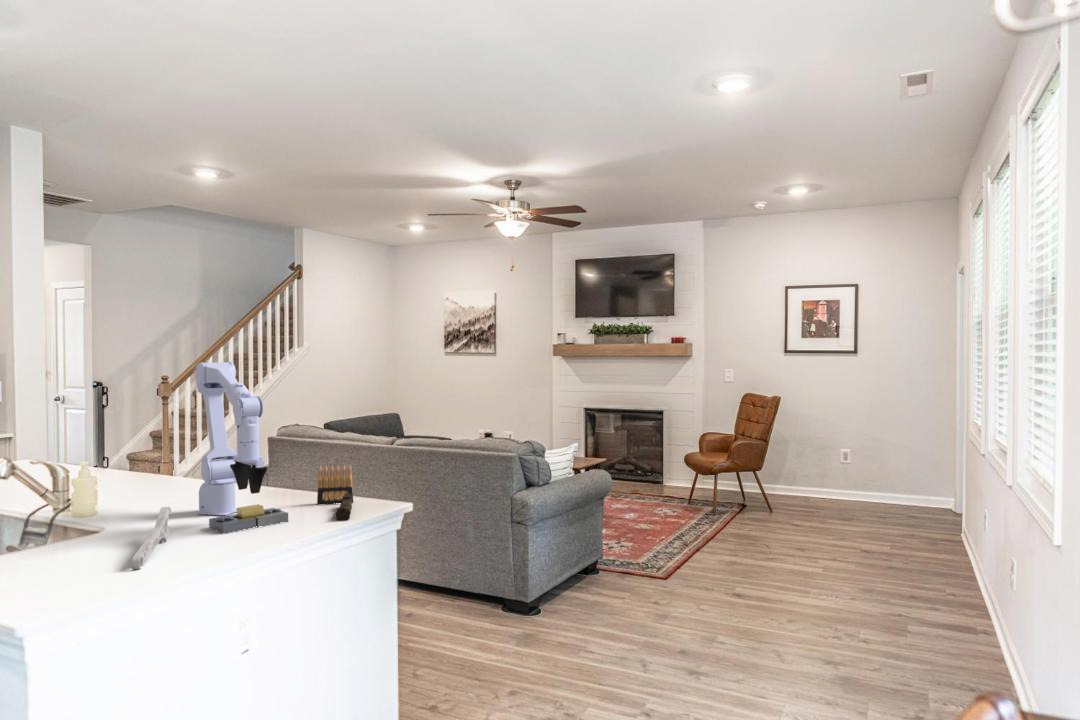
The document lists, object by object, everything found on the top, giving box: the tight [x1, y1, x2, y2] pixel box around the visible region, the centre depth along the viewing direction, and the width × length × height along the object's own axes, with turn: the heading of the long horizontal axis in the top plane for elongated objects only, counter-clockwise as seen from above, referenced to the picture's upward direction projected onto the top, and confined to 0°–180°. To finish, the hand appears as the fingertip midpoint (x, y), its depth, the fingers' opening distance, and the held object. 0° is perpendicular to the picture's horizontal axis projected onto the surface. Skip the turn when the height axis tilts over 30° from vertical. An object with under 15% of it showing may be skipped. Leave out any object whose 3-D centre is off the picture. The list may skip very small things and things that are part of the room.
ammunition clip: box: [316, 463, 354, 505], centre depth 232 cm, size 11×2×12 cm, turn 102°
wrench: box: [131, 506, 172, 570], centre depth 179 cm, size 8×2×30 cm
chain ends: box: [208, 507, 289, 534], centre depth 205 cm, size 18×9×3 cm, turn 136°
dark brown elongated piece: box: [335, 493, 353, 522], centre depth 219 cm, size 19×4×5 cm, turn 7°
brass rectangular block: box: [236, 503, 264, 519], centre depth 205 cm, size 6×3×5 cm, turn 136°
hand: (248, 491), depth 205 cm, fingers open, 7 cm apart
